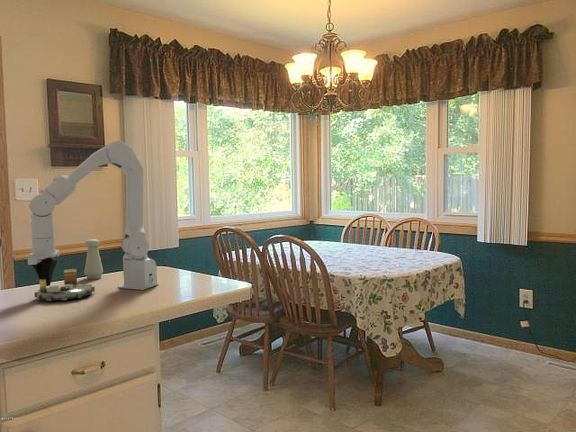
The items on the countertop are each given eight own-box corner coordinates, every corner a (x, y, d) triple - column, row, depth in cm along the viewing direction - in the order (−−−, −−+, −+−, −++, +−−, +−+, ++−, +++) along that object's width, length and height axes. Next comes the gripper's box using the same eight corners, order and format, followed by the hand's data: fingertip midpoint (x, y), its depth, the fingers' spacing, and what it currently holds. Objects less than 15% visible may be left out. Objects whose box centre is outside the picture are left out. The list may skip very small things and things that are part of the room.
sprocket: (95, 297, 134) (94, 280, 134) (32, 303, 128) (31, 285, 128) (94, 285, 148) (93, 270, 148) (37, 291, 142) (36, 275, 142)
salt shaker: (96, 280, 160) (94, 240, 159) (81, 279, 161) (79, 240, 160) (106, 276, 166) (104, 238, 165) (91, 276, 167) (89, 238, 166)
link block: (77, 287, 150) (76, 271, 150) (64, 288, 149) (63, 272, 148) (77, 284, 155) (76, 268, 154) (64, 285, 153) (63, 269, 153)
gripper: (41, 234, 144) (43, 280, 145) (15, 241, 129) (17, 292, 130) (65, 234, 144) (67, 280, 145) (42, 240, 129) (44, 291, 131)
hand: (45, 285), depth 138 cm, fingers closed
